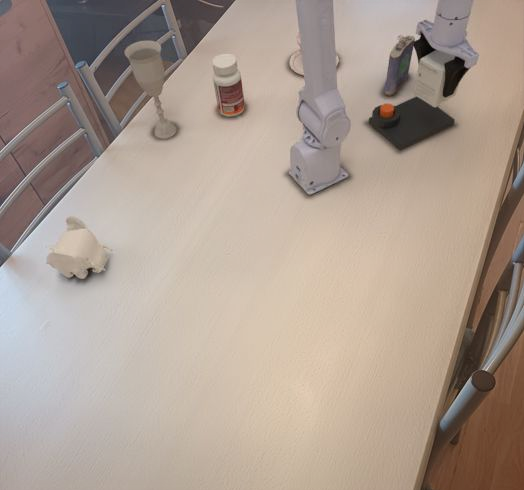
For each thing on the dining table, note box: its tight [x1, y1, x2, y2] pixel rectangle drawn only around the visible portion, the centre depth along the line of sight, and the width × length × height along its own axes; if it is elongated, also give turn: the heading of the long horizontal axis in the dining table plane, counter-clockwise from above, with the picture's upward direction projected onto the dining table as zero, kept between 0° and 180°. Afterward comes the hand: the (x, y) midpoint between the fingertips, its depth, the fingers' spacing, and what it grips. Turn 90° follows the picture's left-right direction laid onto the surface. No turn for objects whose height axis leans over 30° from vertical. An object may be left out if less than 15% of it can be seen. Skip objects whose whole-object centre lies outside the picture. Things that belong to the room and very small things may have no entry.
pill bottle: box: [212, 53, 245, 118], centre depth 110 cm, size 6×6×11 cm
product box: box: [412, 50, 460, 107], centre depth 96 cm, size 6×6×7 cm
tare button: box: [380, 103, 395, 118], centre depth 105 cm, size 3×3×2 cm
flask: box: [383, 34, 416, 97], centre depth 110 cm, size 9×3×11 cm, turn 146°
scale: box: [368, 96, 455, 151], centre depth 106 cm, size 14×11×3 cm
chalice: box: [124, 40, 178, 139], centre depth 105 cm, size 7×7×18 cm
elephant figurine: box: [45, 215, 116, 280], centre depth 90 cm, size 10×12×9 cm
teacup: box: [289, 31, 340, 76], centre depth 119 cm, size 12×12×6 cm
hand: (436, 86), depth 98 cm, fingers closed on product box, 6 cm apart
